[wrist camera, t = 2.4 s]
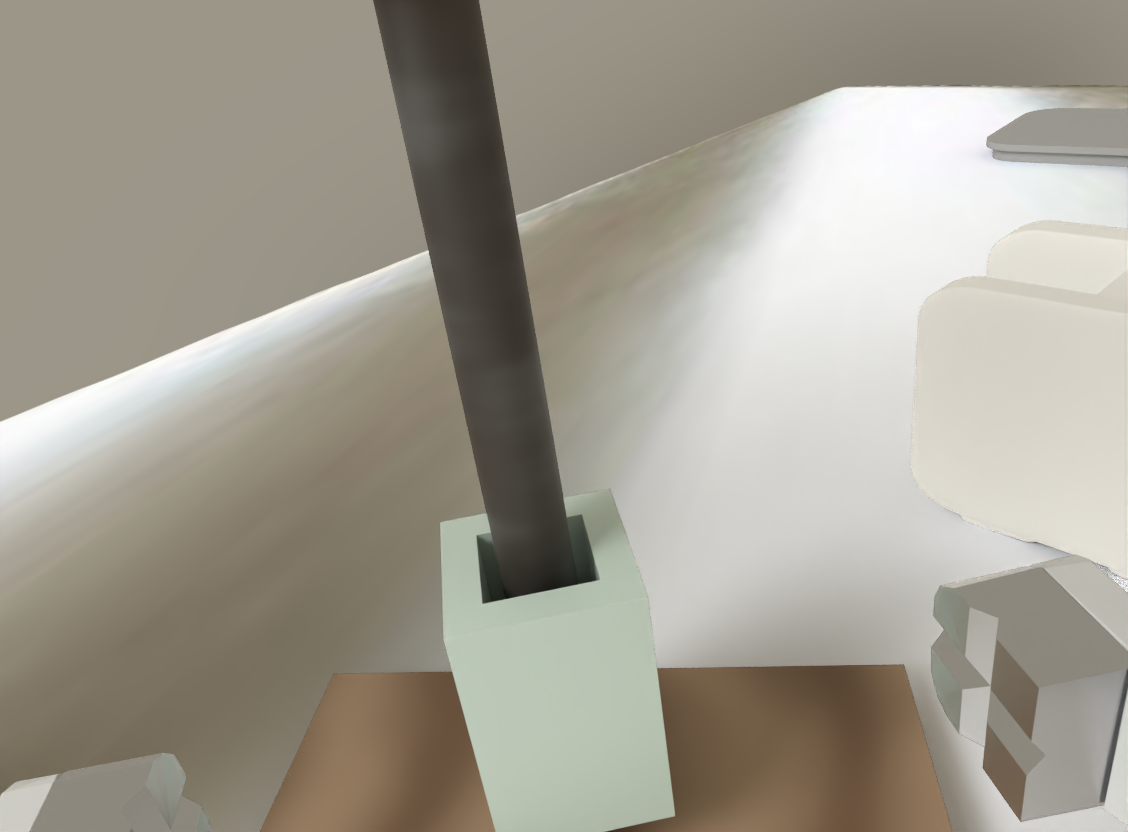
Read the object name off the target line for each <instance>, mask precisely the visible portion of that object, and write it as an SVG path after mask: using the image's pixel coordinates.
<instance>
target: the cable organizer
mask: <svg viewBox="0 0 1128 832" xmlns="http://www.w3.org/2000/svg"><path fill="white" fill-rule="evenodd" d="M911 471H912V475H913V477H914V479H915V481H916V483H917V484H918V486H919V487H920V489H921V490H922V491H923V492H924V493H925V494H926V495H927V496H928V497H929V498H930V499H932V500H933V501H934V502H936V503H937V504H939V505H940V506H942V507H944V508H946V509H948V510H950V511H952V512H955V513H957V514H960V515H961V518H962V519H963V520H965V521H966V522H968V523H971V524H973V525H976V526H979V527H982V528H985V529H988V530H991V531H994V532H997V533H1000V534H1003V535H1006V536H1010V537H1013V538H1016V539H1019V540H1022V541H1025V542H1039V543H1042V544H1044V545H1047V546H1050V547H1053V548H1056V549H1058V550H1061V551H1064V552H1067V553H1070V554H1072V555H1079V556H1082V557H1084V558H1087V559H1089V560H1091V561H1092V562H1095V563H1098V564H1101V565H1103V566H1106V567H1109V570H1110V571H1111V572H1113V573H1114V574H1116V575H1118V576H1120V577H1123V578H1125V579H1128V229H1126V228H1117V227H1108V226H1099V225H1090V224H1080V223H1071V222H1062V221H1039V222H1033V223H1030V224H1027V225H1024V226H1022V227H1020V228H1018V229H1017V230H1015V231H1013V232H1012V233H1010V234H1009V235H1007V236H1006V237H1004V238H1002V239H1001V240H999V241H998V242H997V243H996V244H995V245H994V247H993V248H992V249H991V251H990V254H989V257H988V264H987V275H986V277H982V276H979V277H966V278H962V279H959V280H956V281H954V282H951V283H949V284H948V285H946V286H945V287H943V288H942V289H940V290H939V291H937V292H936V293H934V294H933V295H931V296H930V297H929V298H928V299H927V300H926V301H925V302H924V303H923V305H922V306H921V309H920V311H919V316H918V330H917V350H916V370H915V390H914V410H913V430H912V450H911Z"/></svg>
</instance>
